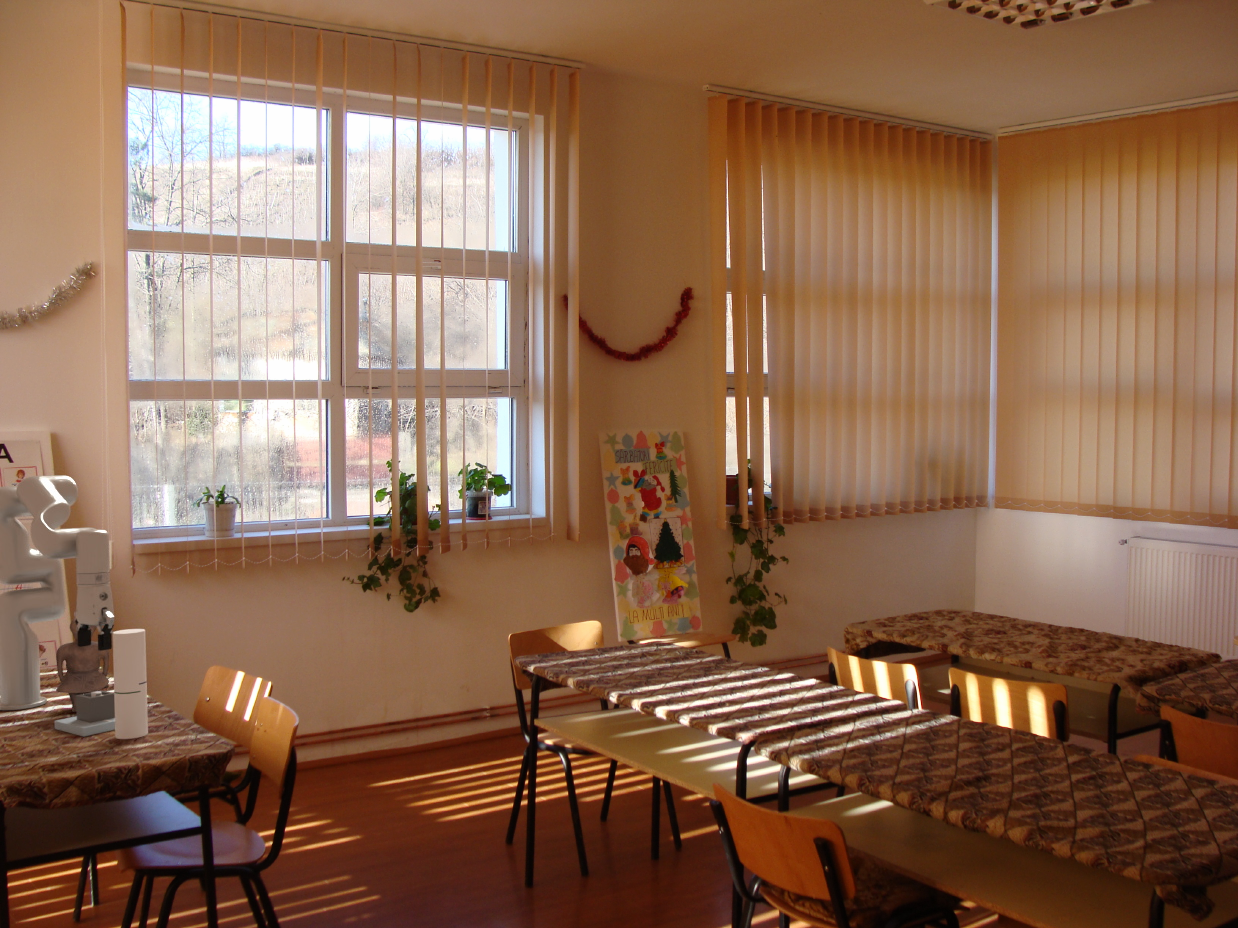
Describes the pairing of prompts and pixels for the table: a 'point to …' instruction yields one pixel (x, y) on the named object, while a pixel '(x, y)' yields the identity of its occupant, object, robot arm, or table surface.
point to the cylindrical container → (130, 683)
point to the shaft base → (85, 724)
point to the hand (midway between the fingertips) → (94, 647)
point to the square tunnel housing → (95, 707)
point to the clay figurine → (81, 667)
